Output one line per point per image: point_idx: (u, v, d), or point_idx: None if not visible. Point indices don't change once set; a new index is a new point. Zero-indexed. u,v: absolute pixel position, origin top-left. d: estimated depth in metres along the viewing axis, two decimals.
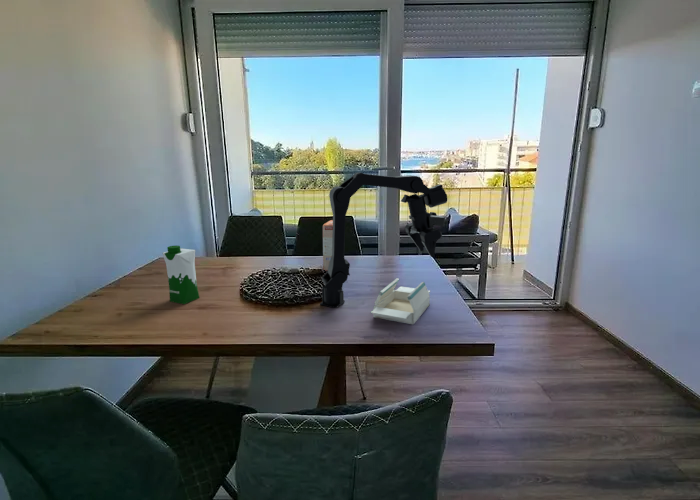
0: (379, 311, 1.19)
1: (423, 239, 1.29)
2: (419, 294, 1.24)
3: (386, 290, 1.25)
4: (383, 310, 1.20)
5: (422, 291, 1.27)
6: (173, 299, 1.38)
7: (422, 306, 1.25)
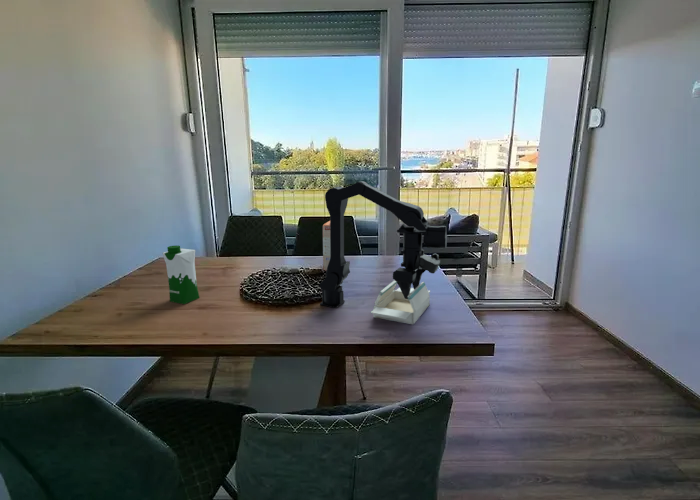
0: (379, 311, 1.19)
1: None
2: (419, 294, 1.24)
3: (386, 290, 1.25)
4: (383, 310, 1.20)
5: (422, 291, 1.27)
6: (173, 299, 1.38)
7: (422, 306, 1.25)
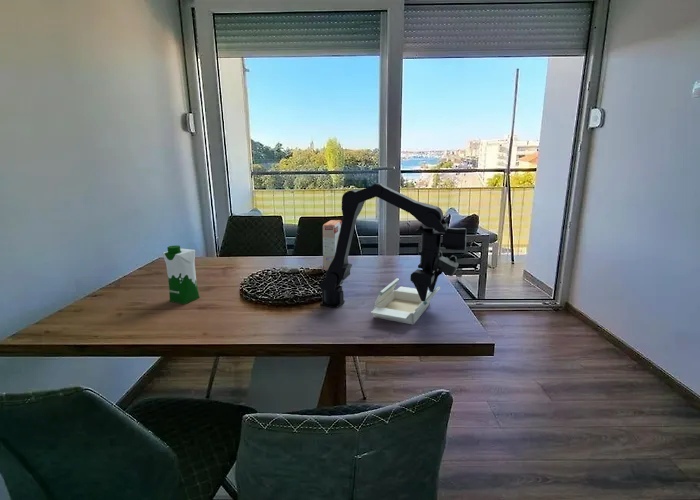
0: (379, 311, 1.19)
1: None
2: None
3: (386, 290, 1.25)
4: (383, 310, 1.20)
5: None
6: (173, 299, 1.38)
7: None
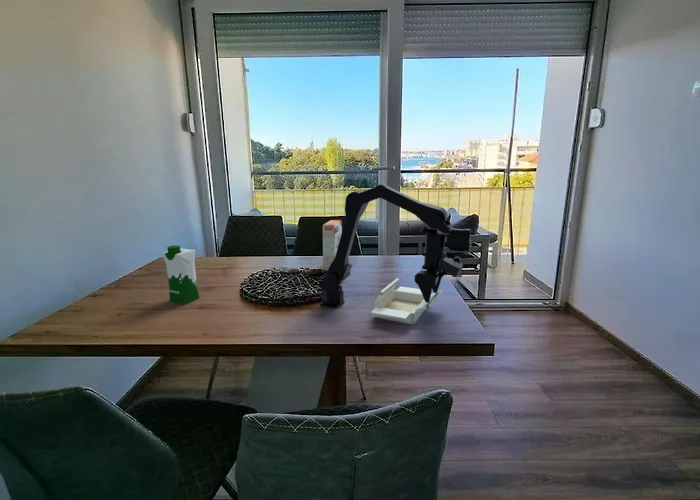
0: (379, 311, 1.19)
1: None
2: None
3: (386, 290, 1.25)
4: (383, 310, 1.20)
5: None
6: (173, 299, 1.38)
7: None
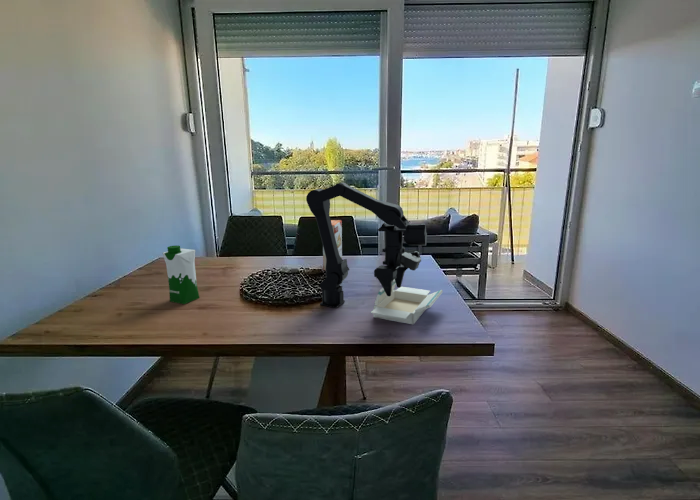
0: (379, 311, 1.19)
1: None
2: None
3: None
4: (383, 310, 1.20)
5: None
6: (173, 299, 1.38)
7: None
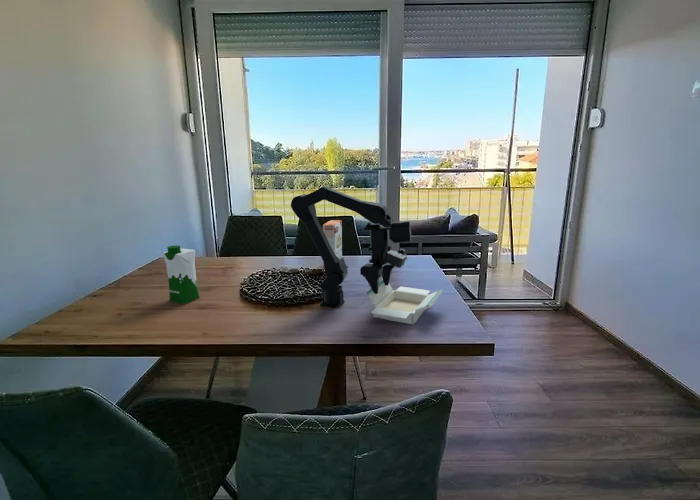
0: (379, 311, 1.19)
1: None
2: None
3: None
4: (383, 310, 1.20)
5: None
6: (173, 299, 1.38)
7: None
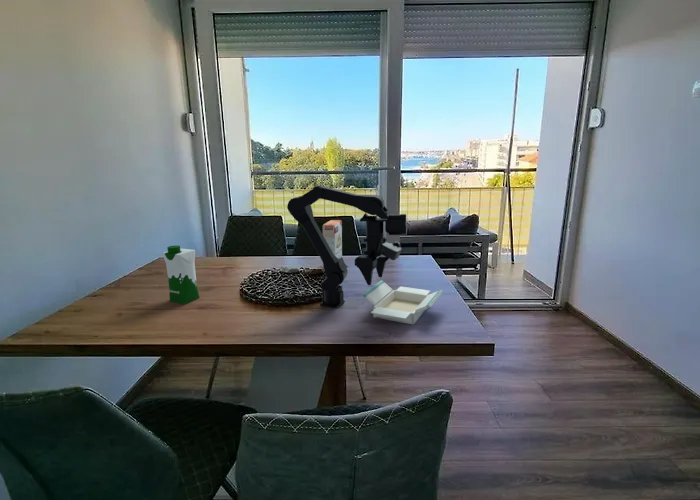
0: (379, 311, 1.19)
1: None
2: None
3: (369, 290, 1.28)
4: (383, 310, 1.20)
5: None
6: (173, 299, 1.38)
7: None
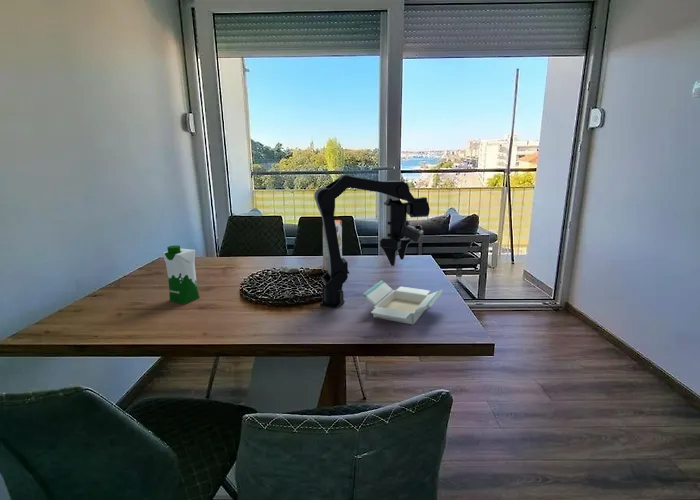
0: (379, 311, 1.19)
1: None
2: None
3: (369, 290, 1.28)
4: (383, 310, 1.20)
5: None
6: (173, 299, 1.38)
7: None
